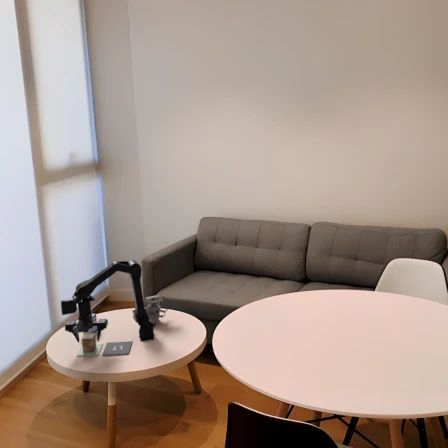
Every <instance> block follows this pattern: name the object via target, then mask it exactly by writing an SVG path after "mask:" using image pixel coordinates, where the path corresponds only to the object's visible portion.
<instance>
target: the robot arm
mask: <svg viewBox="0 0 448 448" xmlns="http://www.w3.org/2000/svg"><path fill="white" fill-rule="evenodd" d="M141 266H142V265H140V263H138V261H136V260H134V259H133V260H121V261H119V260H114V261H112V262H110V264H109V265H107V266H105V268H103V269H102V270H100V271H99V272H98V273H96V275H94V276H93V277H91V278H89V279H87V280H86V279H85V280H84V281H82V282H80V283H78V284H77V285H76V287H75V291H74V293H73V295H72V296H71V298H68V299H61V300H60V311H61V316H65V315H72V314H75V313H76V312H77V311H78V321H77V320H67V322H66V324H65V326H64V330H65V332H68V333H71V334H72V335H73V336H74V338H75V339H76V341H77V343H80V333H83V332H88V331H89V329H90V328H93V326H97V328H98V329H97V330H96V332H97V333H96V334H97V335H96V336H97V342H100V338H101V334H102V331H104V330H105V329H107V328H108V325H109V321H108V319H107V318H99V319H97V322H93V318H92V314H93V310H92V302H93V301H96V300H95V297H94V296H92V295H91V294H92V293H94V291H95V290H96V289H97V287H99V285H101V284H103V282H105V281H106V280H108V279H109V278H110V277H111V276H113V275H114V274H115V273H117V272H121V273H125V274H128V275H129V278H130V281H131V285H132V293H133V299H134V305H135V308H134V309H133V310H132V318H133V320H134V321H135V323H137V324H138V326H139V329H138V335H139V336H138V337H139V341H142V342H143V341H154V339H155V336H156V335H155V331H154V328H155V326H154V323H153V322H152V321H151V319H150V318H149V317H148V314H147V312H146V310H145V308H146V307H145V302H144V295H143V290H142V289H143V288H142V283H141V282H142V281H141V279H142V267H141Z"/></svg>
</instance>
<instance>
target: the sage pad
mask: <svg viewBox="0 0 448 448" xmlns="http://www.w3.org/2000/svg"><path fill="white" fill-rule="evenodd" d="M102 347H103V343H102V344H96V349H95V351H94V352H88V353H83V347H82V345H81V346H80V348H79V350H78V352H77V354H76V357H90V356H91V357H92V356H99V355H100V352H101V350H102Z"/></svg>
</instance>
